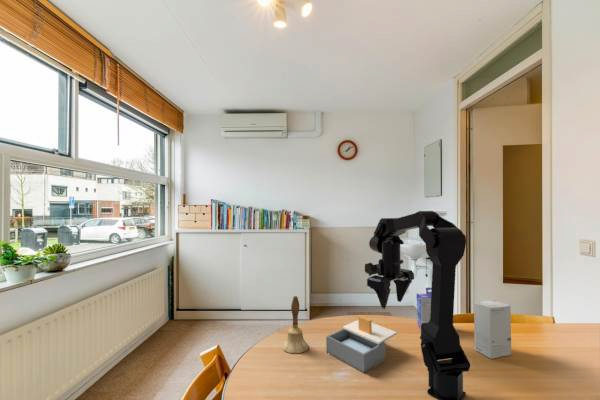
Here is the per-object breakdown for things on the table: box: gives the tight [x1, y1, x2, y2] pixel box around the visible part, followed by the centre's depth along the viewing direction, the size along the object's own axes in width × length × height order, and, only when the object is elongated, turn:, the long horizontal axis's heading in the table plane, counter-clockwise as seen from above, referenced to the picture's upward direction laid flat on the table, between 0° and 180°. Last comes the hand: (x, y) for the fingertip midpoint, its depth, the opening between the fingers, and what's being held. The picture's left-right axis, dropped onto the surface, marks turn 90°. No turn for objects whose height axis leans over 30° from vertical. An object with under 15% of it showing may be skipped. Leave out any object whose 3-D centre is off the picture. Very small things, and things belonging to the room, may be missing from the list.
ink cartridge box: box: [416, 287, 432, 332], centre depth 102 cm, size 10×6×14 cm, turn 86°
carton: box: [325, 328, 386, 374], centre depth 85 cm, size 14×10×5 cm
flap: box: [341, 315, 398, 345], centre depth 90 cm, size 14×10×5 cm
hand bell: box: [281, 295, 309, 355], centre depth 91 cm, size 8×8×16 cm
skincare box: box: [473, 299, 512, 360], centre depth 87 cm, size 8×6×15 cm
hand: (391, 304), depth 93 cm, fingers open, 9 cm apart
